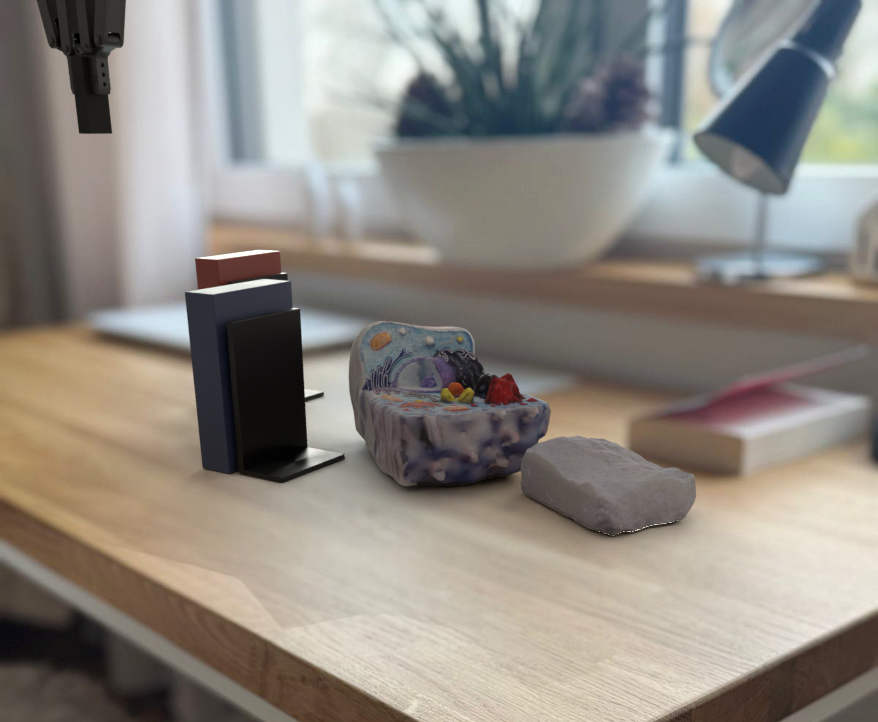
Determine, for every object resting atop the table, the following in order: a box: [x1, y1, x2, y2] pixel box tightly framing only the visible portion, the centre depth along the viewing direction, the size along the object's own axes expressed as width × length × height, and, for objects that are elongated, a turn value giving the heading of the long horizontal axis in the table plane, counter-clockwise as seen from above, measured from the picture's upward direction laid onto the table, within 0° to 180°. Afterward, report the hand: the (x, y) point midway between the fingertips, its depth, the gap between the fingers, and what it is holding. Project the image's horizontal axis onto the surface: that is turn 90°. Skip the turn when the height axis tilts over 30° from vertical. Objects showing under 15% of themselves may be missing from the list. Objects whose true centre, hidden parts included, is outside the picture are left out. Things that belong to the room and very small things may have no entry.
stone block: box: [520, 435, 697, 536], centre depth 78 cm, size 12×5×10 cm
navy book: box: [184, 279, 294, 474], centre depth 88 cm, size 14×9×3 cm
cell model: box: [348, 320, 552, 488], centre depth 87 cm, size 13×11×20 cm
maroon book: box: [194, 249, 282, 290], centre depth 109 cm, size 14×9×3 cm
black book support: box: [227, 307, 346, 484], centre depth 86 cm, size 5×8×12 cm, turn 147°
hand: (95, 133), depth 102 cm, fingers closed
